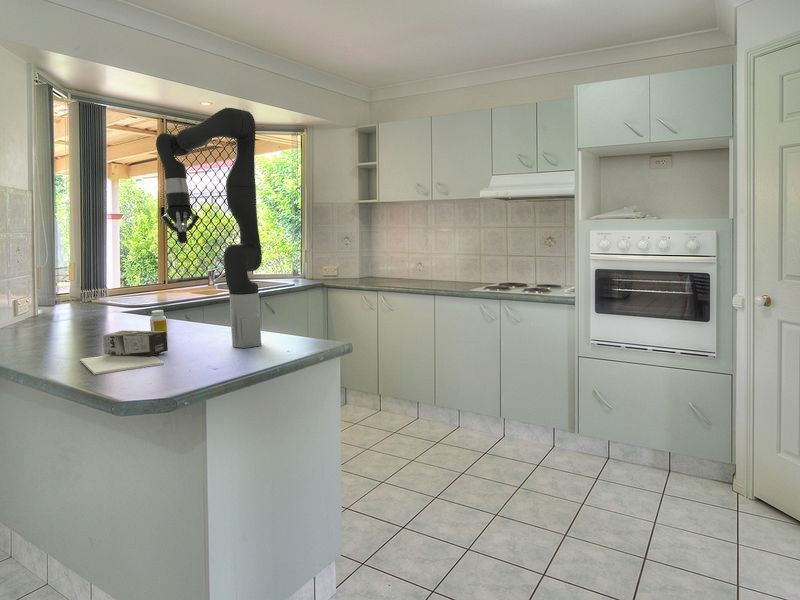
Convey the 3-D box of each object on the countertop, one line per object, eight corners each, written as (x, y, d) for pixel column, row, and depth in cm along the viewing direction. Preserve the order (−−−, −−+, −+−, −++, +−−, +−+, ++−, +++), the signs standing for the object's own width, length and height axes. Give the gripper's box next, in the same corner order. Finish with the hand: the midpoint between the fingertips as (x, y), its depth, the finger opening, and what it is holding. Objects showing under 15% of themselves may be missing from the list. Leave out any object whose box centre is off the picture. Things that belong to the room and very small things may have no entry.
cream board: (163, 364, 169) (163, 362, 169) (94, 374, 158) (94, 372, 158) (144, 352, 186) (143, 350, 186) (80, 360, 176) (80, 358, 176)
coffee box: (103, 355, 179) (149, 356, 176) (102, 334, 179) (148, 335, 175) (124, 349, 188) (168, 351, 185) (122, 329, 188) (167, 330, 184)
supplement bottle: (170, 336, 213) (168, 310, 212) (159, 339, 208) (157, 312, 207) (159, 335, 215) (157, 309, 214) (148, 338, 210) (145, 311, 209)
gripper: (160, 191, 196) (166, 243, 197) (200, 191, 204) (205, 241, 205) (154, 194, 202) (160, 244, 203) (193, 194, 210) (198, 243, 211)
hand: (182, 243), depth 204 cm, fingers closed
